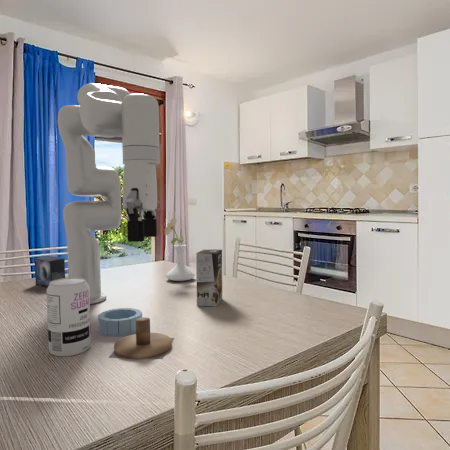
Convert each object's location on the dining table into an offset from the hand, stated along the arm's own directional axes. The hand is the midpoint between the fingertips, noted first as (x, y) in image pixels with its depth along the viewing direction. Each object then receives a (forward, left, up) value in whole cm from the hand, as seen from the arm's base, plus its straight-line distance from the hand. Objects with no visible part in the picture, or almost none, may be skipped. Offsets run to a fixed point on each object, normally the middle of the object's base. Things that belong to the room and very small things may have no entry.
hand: (143, 238), depth 79 cm
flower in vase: (-6, +68, -24) cm, 72 cm away
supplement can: (-16, -2, -24) cm, 29 cm away
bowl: (-9, +11, -24) cm, 27 cm away
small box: (-53, +57, -24) cm, 81 cm away
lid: (0, 0, -23) cm, 23 cm away
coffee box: (+10, +37, -24) cm, 45 cm away
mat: (0, 0, -24) cm, 24 cm away
